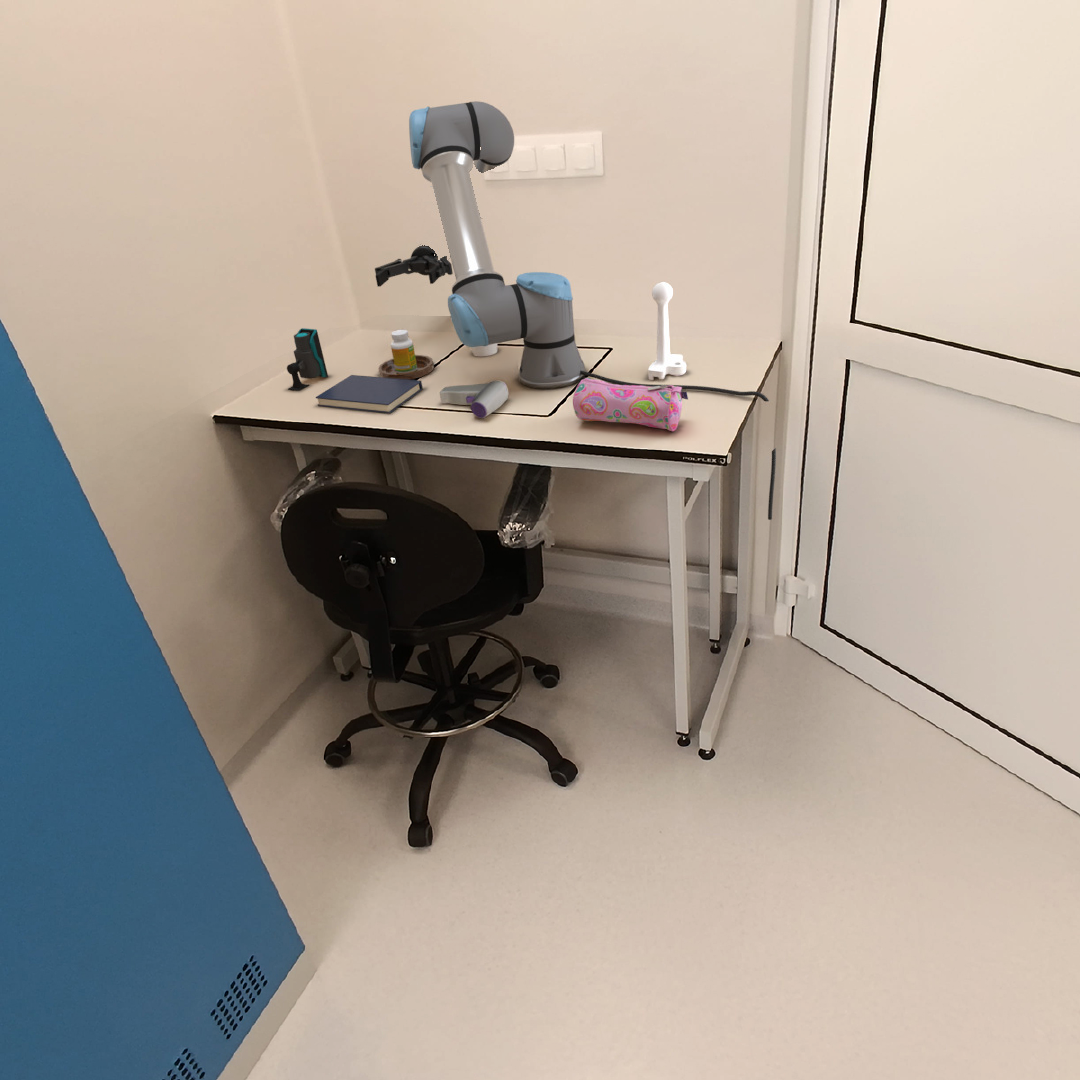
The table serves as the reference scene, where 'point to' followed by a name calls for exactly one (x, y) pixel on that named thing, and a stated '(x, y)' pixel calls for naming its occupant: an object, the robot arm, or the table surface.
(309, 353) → the surveillance camera
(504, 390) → the infrared thermometer
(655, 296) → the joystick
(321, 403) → the book
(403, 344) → the supplement bottle
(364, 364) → the table surface
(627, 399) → the pencil case
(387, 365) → the brown round tray
